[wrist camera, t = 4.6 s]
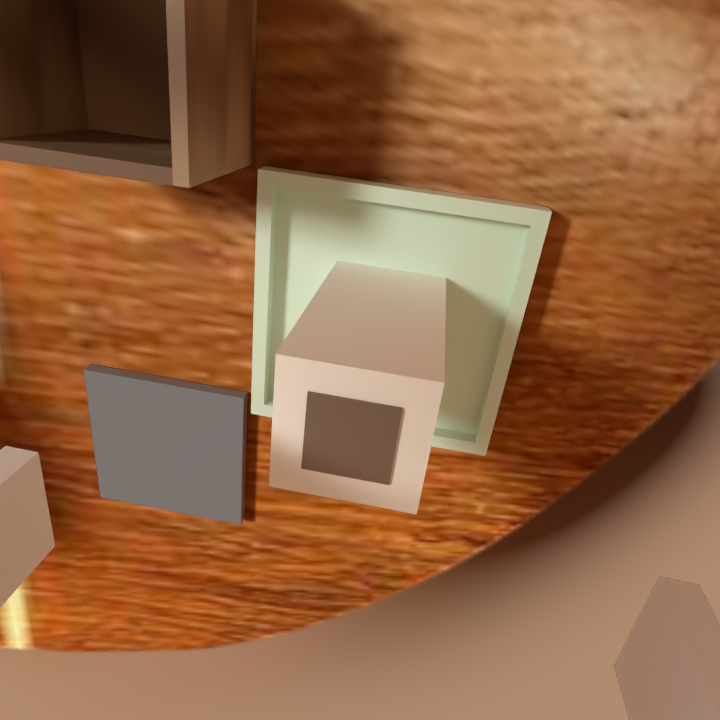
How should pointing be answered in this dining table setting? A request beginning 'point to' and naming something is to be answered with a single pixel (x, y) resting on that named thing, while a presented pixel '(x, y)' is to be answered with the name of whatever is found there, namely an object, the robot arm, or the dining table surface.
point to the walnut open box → (129, 87)
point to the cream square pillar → (361, 388)
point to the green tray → (407, 253)
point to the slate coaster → (169, 442)
